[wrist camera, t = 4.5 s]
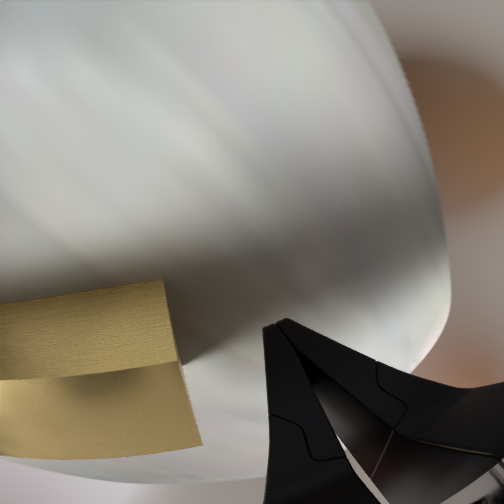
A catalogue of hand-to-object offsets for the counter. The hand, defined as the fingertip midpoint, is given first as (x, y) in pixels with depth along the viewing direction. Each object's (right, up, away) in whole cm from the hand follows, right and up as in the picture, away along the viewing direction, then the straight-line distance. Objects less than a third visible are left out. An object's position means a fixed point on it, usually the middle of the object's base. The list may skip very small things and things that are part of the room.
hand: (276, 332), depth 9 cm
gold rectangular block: (-8, -1, -3) cm, 9 cm away
